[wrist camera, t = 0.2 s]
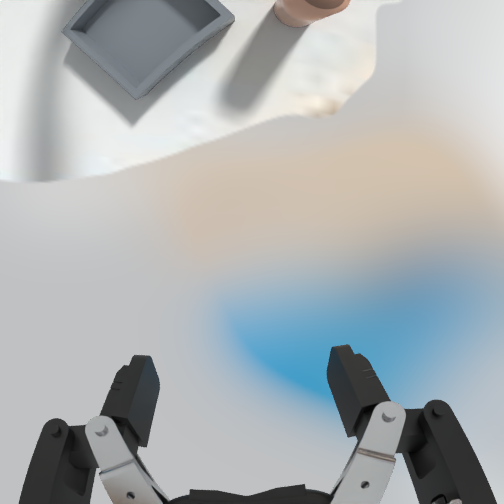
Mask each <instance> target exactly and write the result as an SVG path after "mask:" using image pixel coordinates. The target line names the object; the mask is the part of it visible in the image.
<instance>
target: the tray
mask: <svg viewBox="0 0 504 504" xmlns="http://www.w3.org/2000/svg"><path fill="white" fill-rule="evenodd" d="M234 21H235V17H234V15H233V14H232V13H231V12H230V11H229V10H228V9H227V8H226V7H225V6H224V5H223V4H221V3H220V2H219V1H218V0H88V1H87V2H86V3H85V4H84V5H83V6H82V7H81V9H80V10H79V11H78V12H77V13H76V14H75V16H74V17H73V18H72V19H71V20H70V22H69V23H68V24H67V25H66V27H65V28H64V29H63V31H62V33H63V34H64V35H65V36H67V37H68V38H69V39H70V40H71V41H72V42H73V43H74V44H76V45H77V46H78V47H79V48H80V49H81V50H82V51H83V52H85V53H86V54H87V55H88V56H89V57H90V58H91V59H92V60H93V61H94V62H96V63H97V64H98V65H99V66H100V67H101V68H102V69H103V70H104V71H105V72H106V73H108V74H109V75H110V76H111V77H112V78H113V79H114V80H115V81H116V82H117V83H118V84H119V85H120V86H122V87H123V88H124V89H125V90H126V91H127V92H128V93H129V94H130V95H131V96H132V97H133V98H134V99H135V100H136V99H139V98H141V97H143V96H145V95H146V94H147V93H148V92H149V91H150V90H151V89H152V88H153V87H154V86H155V85H156V84H157V83H158V82H160V81H161V80H162V79H163V78H164V77H165V76H166V75H167V74H168V73H169V72H170V71H171V70H172V69H174V68H175V67H176V66H177V65H178V64H179V63H180V62H182V61H183V60H184V59H185V58H186V57H187V56H189V55H190V54H191V53H192V52H193V51H195V50H196V49H197V48H198V47H200V46H201V45H202V44H203V43H205V42H206V41H207V40H209V39H210V38H211V37H213V36H214V35H215V34H217V33H218V32H220V31H221V30H222V29H224V28H225V27H227V26H228V25H229V24H231V23H232V22H234Z"/></svg>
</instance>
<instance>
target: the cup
mask: <svg viewBox="0 0 504 504" xmlns="http://www.w3.org/2000/svg"><path fill="white" fill-rule="evenodd" d="M349 3H350V0H277V1H276V3H275V6H274V11H275V14H276V16H277V18H278V19H279V20H280V21H281V22H282V23H284V24H286V25H288V26H291V27H303V26H306V25H308V24H311V23H313V22H315V21H318V20H320V19H323V18H325V17H328V16H330V15H333V14H335V13H338V12H341V11H342V10H344V9H345V8H346V7H347V6H348V5H349Z"/></svg>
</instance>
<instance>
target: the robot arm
mask: <svg viewBox="0 0 504 504" xmlns="http://www.w3.org/2000/svg"><path fill="white" fill-rule="evenodd" d="M327 380H328V384H329V387H330V389H331V392H332V395H333V397H334V400H335V403H336V406H337V408H338V411H339V414H340V417H341V420H342V422H343V425H344V428H345V431H346V433H347V437H352V436H356V437H357V440H358V442H357V444H356V446H355V448H354V450H353V452H352V454H351V456H350V459H349V460H348V462H347V464H346V466H345V468H344V470H343V472H342V474H341V476H340V478H339V479H338V481H337V483H336V484H335V486H334V487H333V489H332V491H331V493H330V494H328V493H325V492H321V491H317V490H311V489H305V484H302V485H295V486H288V487H280V488H275V489H271V490H268V491H265V492H262V493H258V494H254V495H251V496H243V495H237V494H231V493H227V492H222V491H215V490H193V489H190V494H189V495H185V496H181V497H178V498H175V499H173V500H169V498H168V497H167V496H166V494H165V493H164V492H163V491H162V490H161V489H160V487H159V486H158V485H157V483H156V482H155V480H154V479H153V478H152V476H151V474H150V473H149V471H148V470H147V468H146V467H145V465H144V464H143V462H142V460H141V459H140V457H139V456H138V454H137V450H138V446H141V447H147V444H148V439H149V434H150V429H151V425H152V420H153V416H154V412H155V407H156V403H157V399H158V395H159V390H160V382H159V378H158V375H157V372H156V369H155V367H154V364H153V361H152V358H151V357H150V356H144V355H134V356H133V357H132V360H131V362H130V365H129V366H127V365H124V366H123V367H122V368H121V369H120V370H119V371H118V372H117V373H116V376H115V378H114V381H113V383H112V385H111V390H110V391H109V393H108V395H107V398H106V400H105V403H104V405H103V408H102V411H101V413H100V415H99V416H96V417H94V418H92V419H90V421H88V423H87V424H86V425H81V426H68V425H67V423H66V422H65V421H63V420H61V419H58V418H55V419H51V420H49V421H48V422H47V423H46V424H45V425H44V427H43V429H42V432H41V434H40V437H39V440H38V442H37V445H36V448H35V450H34V453H33V456H32V459H31V462H30V465H29V468H28V471H27V475H26V478H25V482H24V485H23V489H22V492H21V496H20V500H19V504H90V499H91V493H92V487H93V482H94V477H95V472H96V468H100V470H101V472H100V473H99V476H100V479H101V481H102V483H103V485H104V487H105V489H106V491H107V493H108V495H109V497H110V499H111V500H112V502H113V504H379V503H380V501H381V499H382V497H383V494H384V492H385V490H386V487H387V485H388V482H389V479H390V477H391V474H392V472H393V469H394V466H395V462H396V459H395V458H394V455H395V453H402V454H403V457H404V460H405V463H406V465H407V468H408V471H409V474H410V477H411V479H412V482H413V485H414V488H415V491H416V494H417V498H418V501H419V503H420V504H497V502H496V500H495V497H494V495H493V492H492V490H491V487H490V485H489V483H488V481H487V478H486V476H485V474H484V471H483V469H482V467H481V465H480V463H479V460H478V458H477V456H476V454H475V452H474V450H473V448H472V446H471V445H470V442H469V440H468V438H467V437H466V435H465V433H464V431H463V429H462V427H461V426H460V424H459V422H458V420H457V418H456V416H455V415H454V413H453V411H452V409H451V408H450V406H449V405H448V404H447V403H446V402H444V401H442V400H432V401H430V402H428V403H427V404H426V405H425V407H424V408H422V409H404V408H403V407H402V406H401V405H399V404H398V403H395V402H391V400H390V399H389V397H388V395H387V393H386V391H385V389H384V388H383V386H382V384H381V382H380V380H379V378H378V377H377V376H376V373H375V371H374V370H373V368H372V366H371V364H370V362H369V361H368V360H367V359H366V358H365V357H364V356H363V355H361V354H354V353H353V351H352V349H351V347H350V346H349V345H341V346H335V347H332V349H331V352H330V357H329V362H328V367H327Z"/></svg>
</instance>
